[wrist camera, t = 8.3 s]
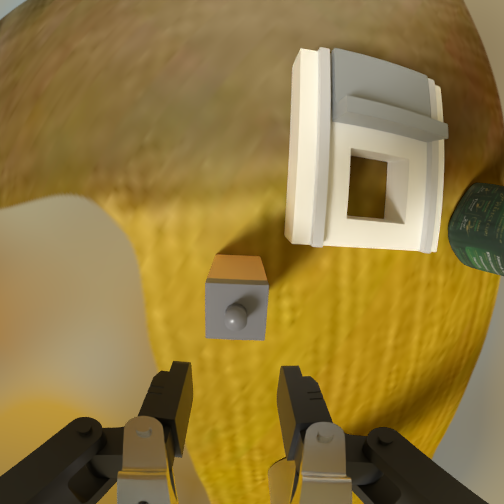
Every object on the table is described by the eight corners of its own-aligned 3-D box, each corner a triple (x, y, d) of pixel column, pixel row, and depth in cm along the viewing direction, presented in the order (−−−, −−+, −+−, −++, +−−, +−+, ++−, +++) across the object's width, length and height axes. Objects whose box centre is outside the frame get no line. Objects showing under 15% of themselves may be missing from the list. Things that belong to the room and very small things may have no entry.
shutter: (426, 142, 20) (448, 138, 17) (332, 121, 19) (346, 111, 16) (422, 78, 18) (441, 68, 15) (331, 51, 18) (343, 34, 15)
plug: (257, 297, 27) (265, 349, 18) (214, 295, 26) (203, 346, 18) (260, 256, 26) (270, 292, 17) (215, 254, 26) (203, 289, 17)
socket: (414, 243, 26) (441, 253, 21) (284, 235, 25) (293, 245, 21) (419, 96, 23) (445, 85, 18) (292, 66, 22) (302, 44, 17)
